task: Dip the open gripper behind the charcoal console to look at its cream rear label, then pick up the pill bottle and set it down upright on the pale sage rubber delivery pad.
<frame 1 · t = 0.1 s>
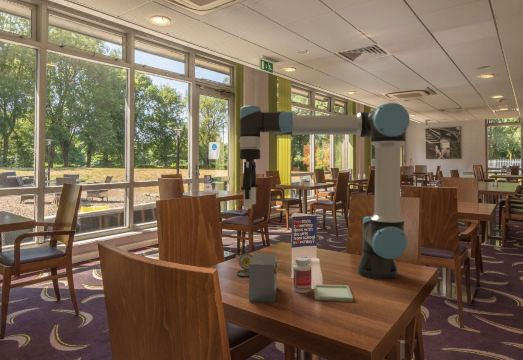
hand: (250, 206, 137), 28 cm above the table, fingers open, 13 cm apart
pad: (332, 294, 124), on the table
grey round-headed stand: (246, 274, 147), on the table
pill bottle: (302, 290, 128), on the table
console: (263, 294, 125), on the table
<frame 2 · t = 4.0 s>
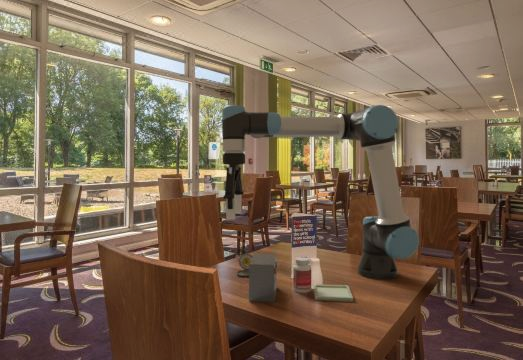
hand: (234, 216, 124), 26 cm above the table, fingers open, 13 cm apart
nothing on the table moved.
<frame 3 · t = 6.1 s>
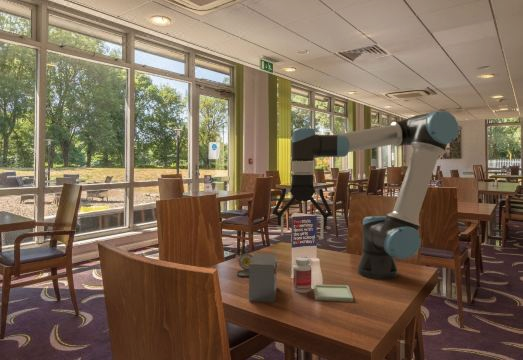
hand: (301, 235, 127), 19 cm above the table, fingers open, 13 cm apart
nothing on the table moved.
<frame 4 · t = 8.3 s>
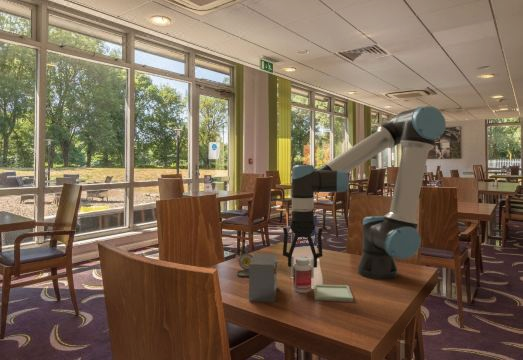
hand: (302, 276, 128), 5 cm above the table, fingers closed on pill bottle, 6 cm apart
pill bottle: (302, 290, 128), on the table, touching gripper
everything else where it was.
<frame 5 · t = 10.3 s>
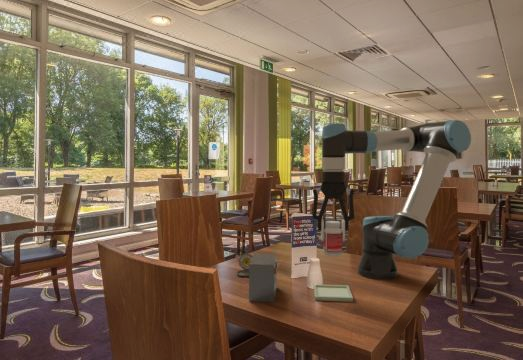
hand: (332, 239, 123), 18 cm above the table, fingers closed on pill bottle, 6 cm apart
pill bottle: (332, 255, 124), point 13 cm above the table, touching gripper
everything else where it was.
when the fingers open (7 cm above the table, at t = 12.6 s): pill bottle drops 1 cm, resting on pad.
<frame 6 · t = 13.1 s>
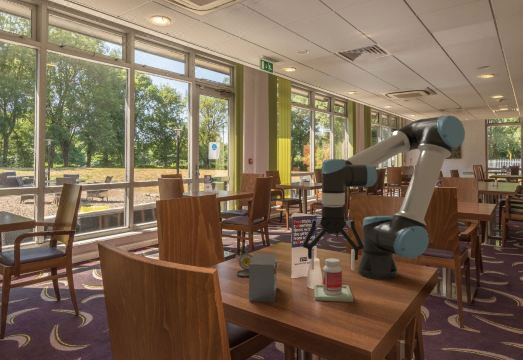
hand: (332, 269, 124), 9 cm above the table, fingers open, 13 cm apart
pill bottle: (332, 293, 124), resting on pad
everything else where it was.
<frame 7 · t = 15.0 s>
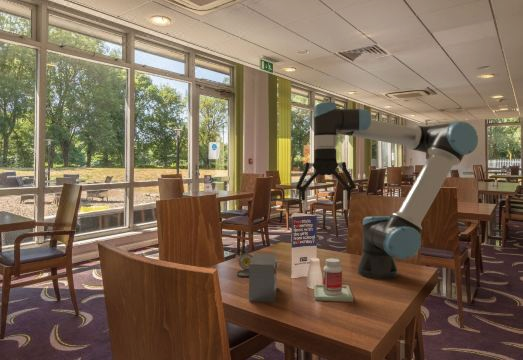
hand: (325, 209, 128), 28 cm above the table, fingers open, 13 cm apart
nothing on the table moved.
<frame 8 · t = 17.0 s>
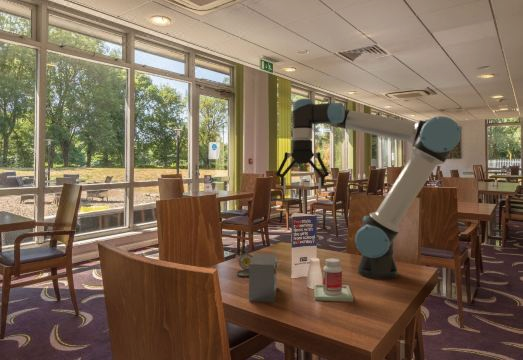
hand: (302, 194, 145), 32 cm above the table, fingers open, 13 cm apart
nothing on the table moved.
at the end: pill bottle inside the target area on the pad (0.0 cm from its centre), point 0.4 cm above the pad's base; pill bottle tilted 0°; the gripper is holding nothing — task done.
